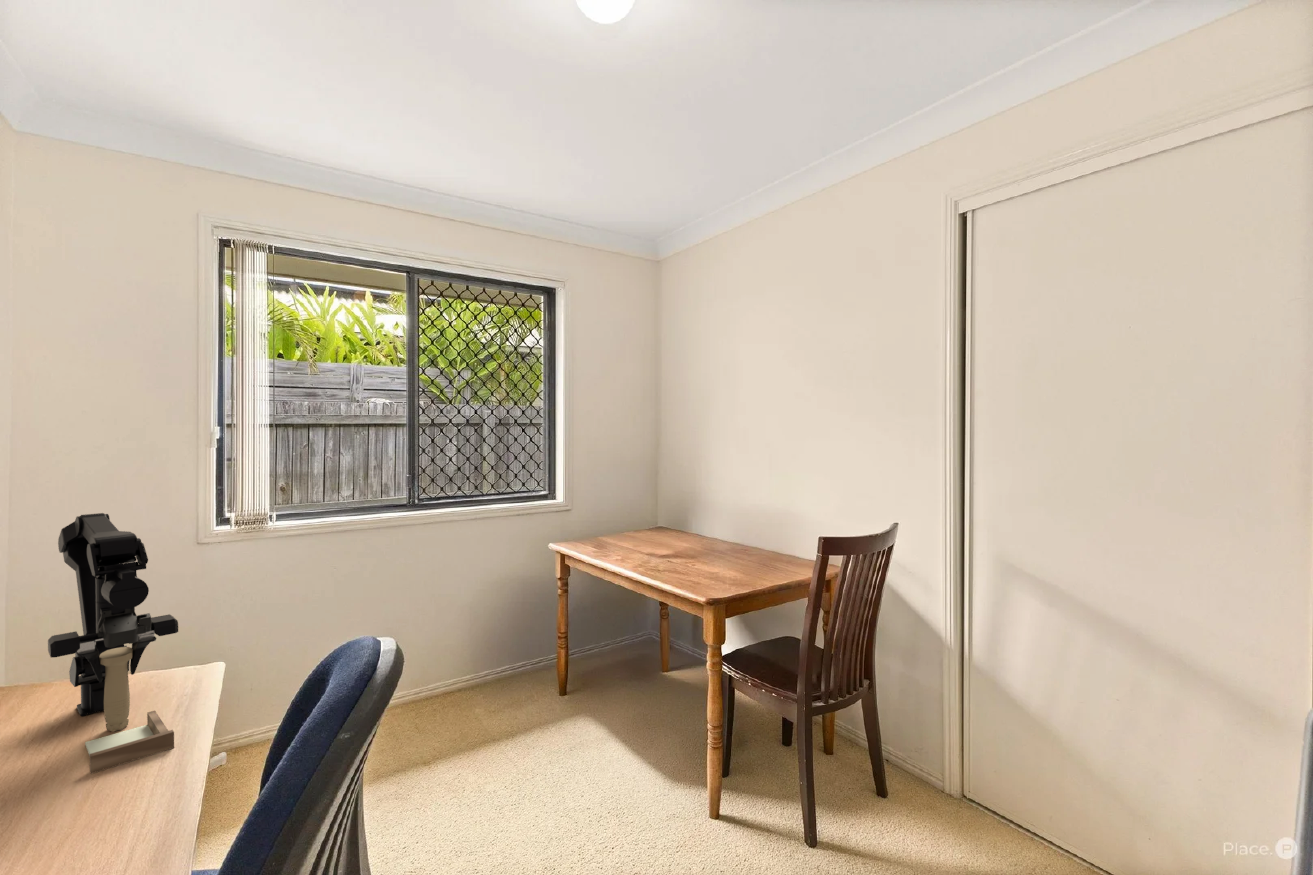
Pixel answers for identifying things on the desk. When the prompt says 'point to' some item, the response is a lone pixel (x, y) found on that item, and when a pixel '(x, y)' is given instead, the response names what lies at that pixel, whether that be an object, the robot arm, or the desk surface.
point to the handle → (116, 687)
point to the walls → (135, 746)
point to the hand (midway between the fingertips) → (116, 677)
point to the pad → (118, 739)
